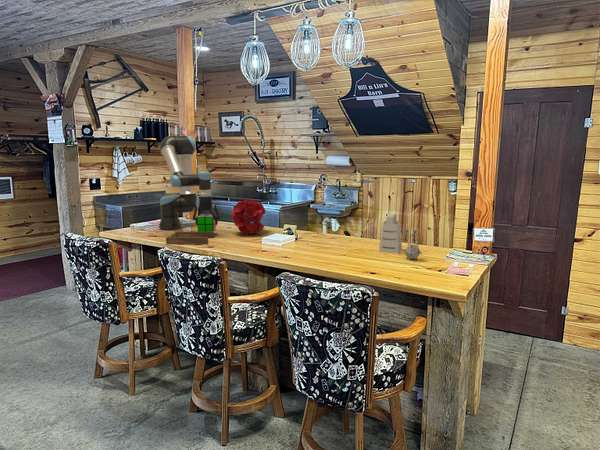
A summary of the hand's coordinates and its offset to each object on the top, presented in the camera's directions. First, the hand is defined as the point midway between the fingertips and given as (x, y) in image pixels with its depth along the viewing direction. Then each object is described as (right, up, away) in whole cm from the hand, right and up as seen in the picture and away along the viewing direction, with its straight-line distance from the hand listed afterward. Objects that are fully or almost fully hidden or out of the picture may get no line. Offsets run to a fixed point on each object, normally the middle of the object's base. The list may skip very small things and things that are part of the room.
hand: (207, 230), depth 278 cm
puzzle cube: (0, 0, 0) cm, 1 cm away
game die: (+117, -14, -63) cm, 133 cm away
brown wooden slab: (-6, -6, -16) cm, 18 cm away
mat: (0, -3, +1) cm, 4 cm away
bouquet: (+28, -2, +8) cm, 29 cm away
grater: (+110, -11, -44) cm, 119 cm away
